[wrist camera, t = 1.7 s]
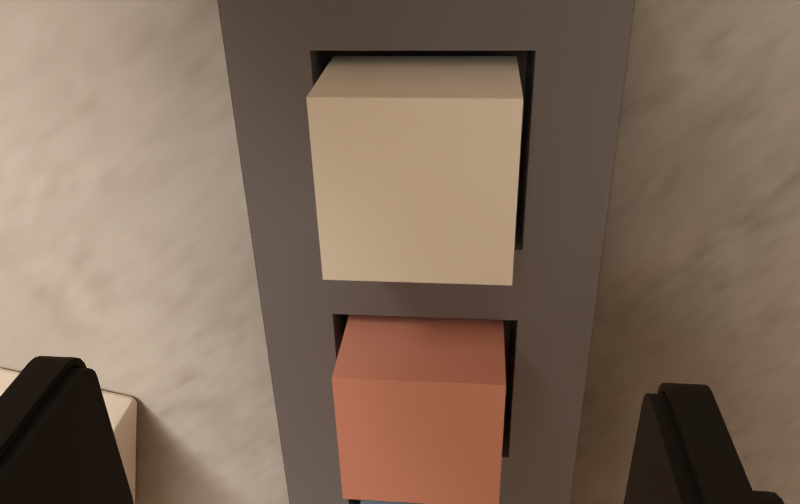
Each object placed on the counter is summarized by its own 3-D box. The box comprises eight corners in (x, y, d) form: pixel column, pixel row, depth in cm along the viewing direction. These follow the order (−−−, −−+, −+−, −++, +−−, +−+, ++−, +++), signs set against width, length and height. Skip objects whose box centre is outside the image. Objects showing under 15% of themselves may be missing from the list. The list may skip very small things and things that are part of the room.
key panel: (265, -67, 22) (211, -42, 17) (607, -73, 21) (640, -48, 17) (328, 527, 35) (307, 626, 30) (542, 541, 34) (551, 645, 29)
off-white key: (333, 56, 19) (306, 97, 16) (516, 56, 19) (523, 98, 16) (344, 217, 22) (322, 279, 19) (507, 221, 21) (512, 285, 18)
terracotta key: (351, 306, 23) (331, 377, 20) (502, 312, 23) (506, 385, 20) (359, 420, 26) (342, 498, 23) (496, 427, 25) (498, 507, 22)
